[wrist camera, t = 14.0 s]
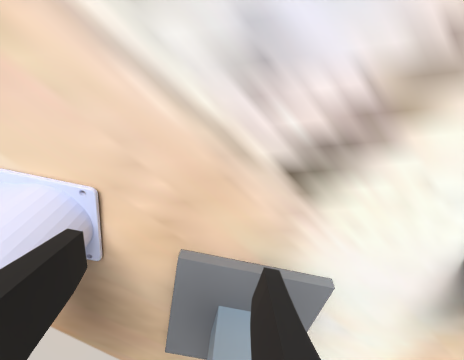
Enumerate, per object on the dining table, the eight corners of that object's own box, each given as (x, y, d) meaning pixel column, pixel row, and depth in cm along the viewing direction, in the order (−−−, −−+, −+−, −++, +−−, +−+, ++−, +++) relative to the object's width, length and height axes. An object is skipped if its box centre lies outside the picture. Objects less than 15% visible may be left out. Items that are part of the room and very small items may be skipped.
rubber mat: (167, 343, 31) (164, 352, 30) (180, 249, 23) (178, 257, 22) (280, 363, 32) (280, 372, 31) (331, 278, 24) (334, 288, 23)
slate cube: (210, 333, 28) (203, 389, 23) (218, 305, 25) (212, 362, 21) (256, 341, 28) (257, 399, 23) (268, 315, 25) (272, 373, 21)
